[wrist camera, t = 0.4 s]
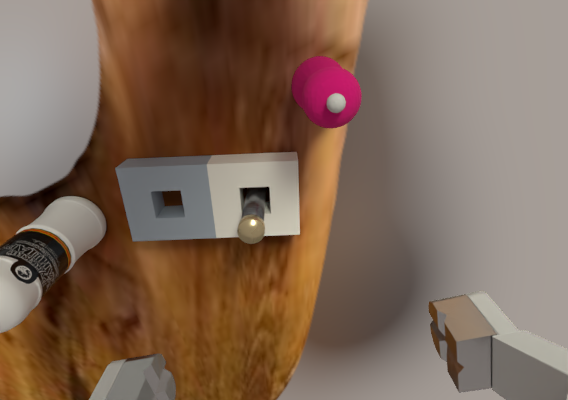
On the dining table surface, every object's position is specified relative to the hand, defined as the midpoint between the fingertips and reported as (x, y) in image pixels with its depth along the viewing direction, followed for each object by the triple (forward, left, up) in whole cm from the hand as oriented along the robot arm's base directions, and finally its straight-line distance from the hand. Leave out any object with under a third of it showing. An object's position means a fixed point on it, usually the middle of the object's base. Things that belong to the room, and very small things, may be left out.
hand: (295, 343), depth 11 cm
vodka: (+17, -34, -45) cm, 59 cm away
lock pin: (+13, -5, -45) cm, 47 cm away
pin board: (+13, -11, -45) cm, 48 cm away
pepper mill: (-3, +5, -45) cm, 45 cm away
